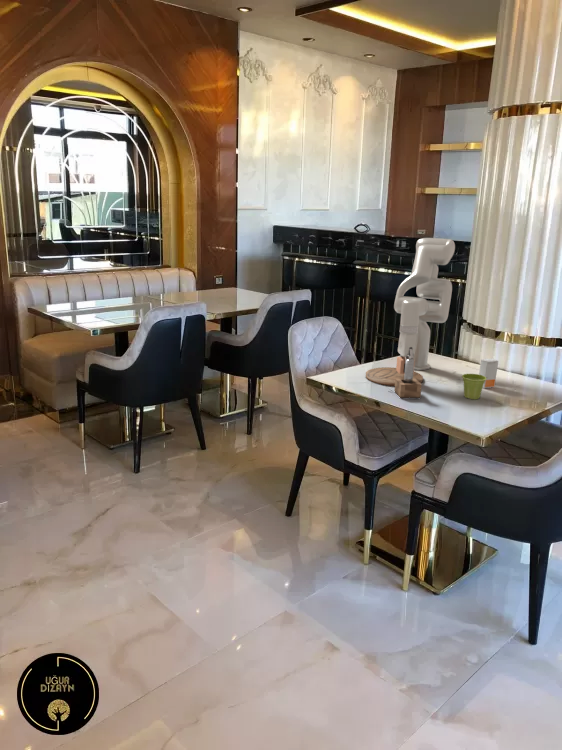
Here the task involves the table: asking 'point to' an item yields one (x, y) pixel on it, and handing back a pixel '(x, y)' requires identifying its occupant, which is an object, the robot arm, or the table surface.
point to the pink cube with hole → (401, 365)
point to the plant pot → (473, 385)
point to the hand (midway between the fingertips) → (405, 369)
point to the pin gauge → (409, 371)
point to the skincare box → (489, 371)
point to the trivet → (388, 376)
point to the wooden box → (407, 389)
